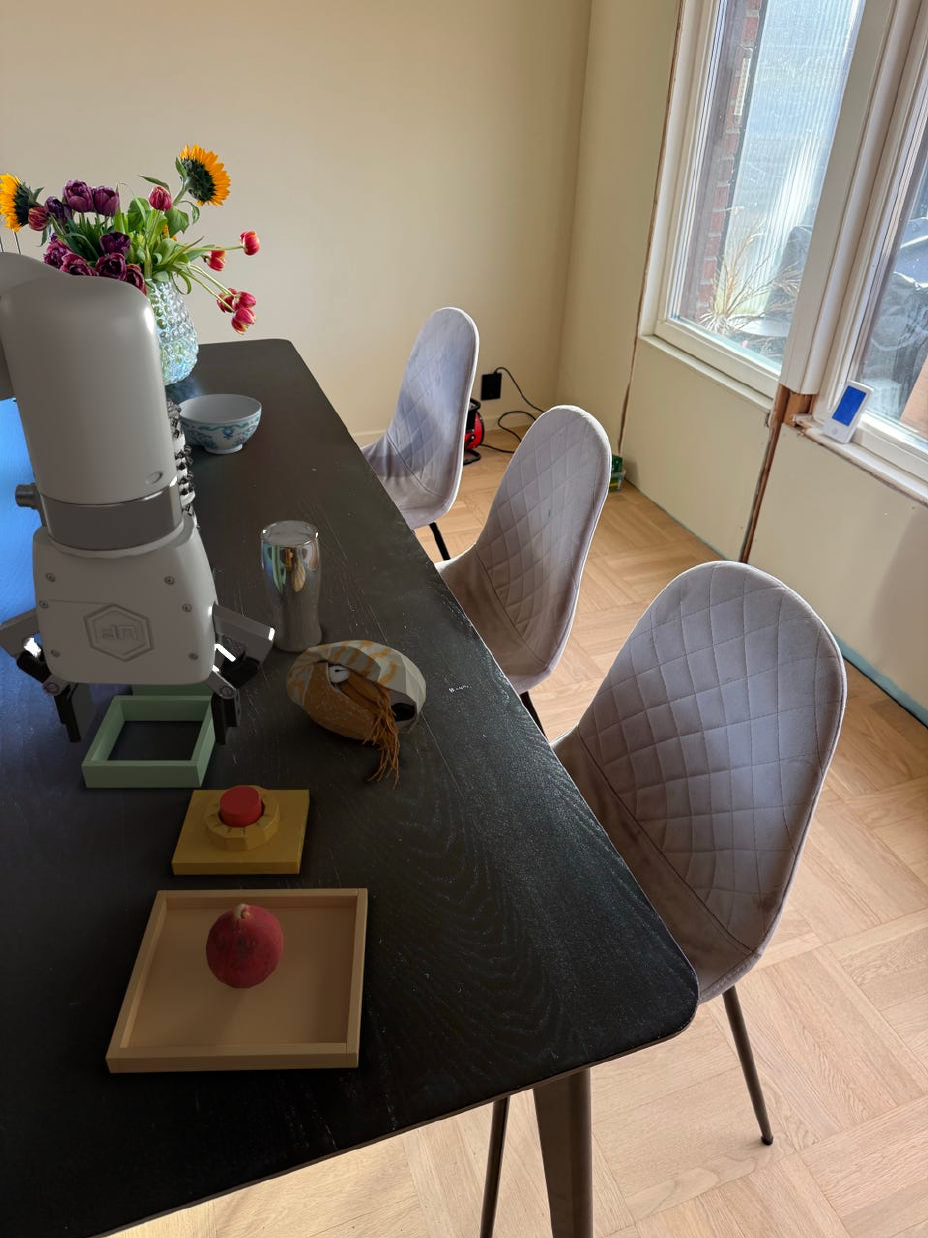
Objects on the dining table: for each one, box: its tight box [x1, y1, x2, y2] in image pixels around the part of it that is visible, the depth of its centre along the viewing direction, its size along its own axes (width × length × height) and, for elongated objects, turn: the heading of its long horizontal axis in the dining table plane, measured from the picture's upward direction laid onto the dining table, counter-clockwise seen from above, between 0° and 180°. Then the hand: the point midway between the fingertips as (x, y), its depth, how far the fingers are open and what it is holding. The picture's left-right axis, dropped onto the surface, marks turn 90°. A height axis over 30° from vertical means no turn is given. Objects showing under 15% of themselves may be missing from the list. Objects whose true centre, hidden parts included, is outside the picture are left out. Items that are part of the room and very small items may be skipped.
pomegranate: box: [206, 904, 284, 988], centre depth 65 cm, size 6×6×8 cm
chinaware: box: [177, 393, 262, 455], centre depth 157 cm, size 15×15×8 cm
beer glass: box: [260, 520, 323, 653], centre depth 104 cm, size 7×7×15 cm
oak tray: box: [105, 888, 368, 1074], centre depth 67 cm, size 18×15×2 cm
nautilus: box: [285, 639, 427, 790], centre depth 91 cm, size 8×22×15 cm
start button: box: [220, 785, 262, 828], centre depth 78 cm, size 4×4×2 cm
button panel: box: [171, 785, 310, 876], centre depth 79 cm, size 11×9×4 cm
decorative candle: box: [166, 396, 203, 542], centre depth 113 cm, size 9×9×25 cm
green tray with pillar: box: [80, 567, 224, 789], centre depth 88 cm, size 11×18×15 cm, turn 3°
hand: (155, 730), depth 59 cm, fingers open, 9 cm apart
